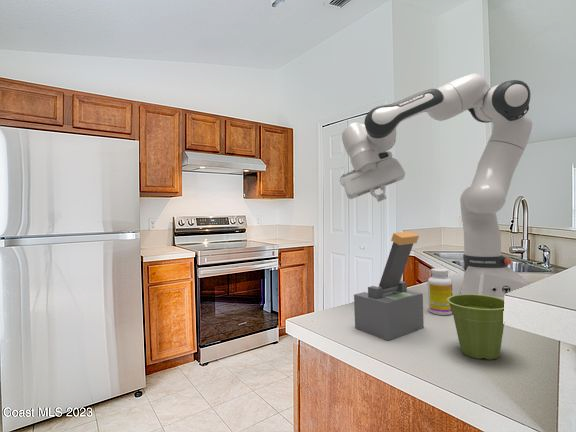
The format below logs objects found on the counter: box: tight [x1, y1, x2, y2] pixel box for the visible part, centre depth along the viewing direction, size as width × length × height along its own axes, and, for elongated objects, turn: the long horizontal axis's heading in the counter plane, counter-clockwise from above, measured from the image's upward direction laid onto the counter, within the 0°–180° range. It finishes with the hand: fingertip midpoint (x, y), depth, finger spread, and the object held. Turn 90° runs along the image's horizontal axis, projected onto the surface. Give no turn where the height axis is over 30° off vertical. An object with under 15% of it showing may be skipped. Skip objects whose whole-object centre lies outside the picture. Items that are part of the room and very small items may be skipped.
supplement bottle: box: [427, 267, 454, 316], centre depth 97 cm, size 7×7×13 cm
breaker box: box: [353, 280, 425, 342], centre depth 86 cm, size 11×14×12 cm
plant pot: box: [447, 293, 505, 360], centre depth 70 cm, size 12×12×11 cm
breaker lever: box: [378, 231, 420, 294], centre depth 84 cm, size 3×7×17 cm, turn 124°
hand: (382, 199), depth 108 cm, fingers closed
